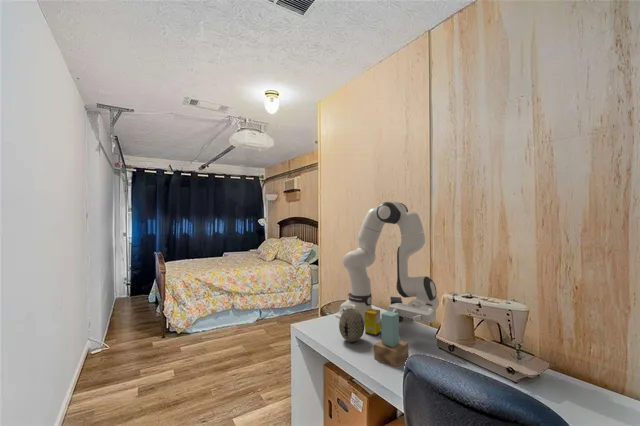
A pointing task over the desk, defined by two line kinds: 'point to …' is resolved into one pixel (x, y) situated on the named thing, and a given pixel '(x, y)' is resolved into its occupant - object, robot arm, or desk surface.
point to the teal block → (390, 328)
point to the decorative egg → (351, 325)
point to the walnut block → (391, 353)
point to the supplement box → (372, 322)
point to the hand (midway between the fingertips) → (402, 316)
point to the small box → (396, 300)
